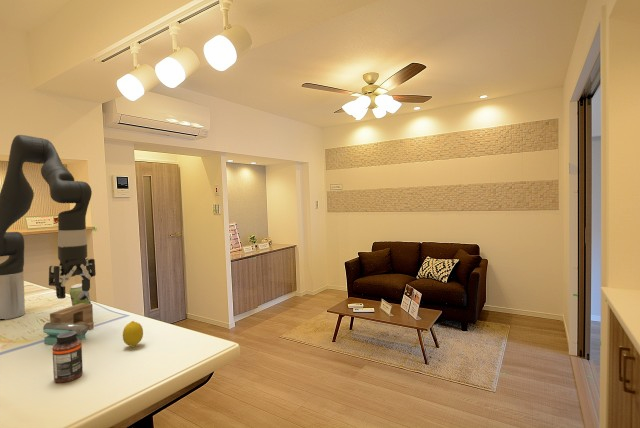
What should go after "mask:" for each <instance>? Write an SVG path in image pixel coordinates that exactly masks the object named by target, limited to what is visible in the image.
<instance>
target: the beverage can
mask: <svg viewBox="0 0 640 428" xmlns="http://www.w3.org/2000/svg"><path fill="white" fill-rule="evenodd" d="M69 296H70V300H71V306H74V305H77V304H80V303H87V304H92V302H91V298H90V297H91V296H90V290H89V291H82V282H81V283H80V282H79V283H76V284H72V285H71V286H70V288H69Z"/></svg>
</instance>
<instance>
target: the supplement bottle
mask: <svg viewBox="0 0 640 428" xmlns="http://www.w3.org/2000/svg"><path fill="white" fill-rule="evenodd" d="M76 337H77V336H76V332H75V331H69V332H64V333H61V334H59V335H57V343H56V344H55V345H53V346H52V366H53V368H52V369H53V381H55V382H56V383H68V382H72V381H73V380H76V379H78V378H80V376H82V374H83V371H84V370H83V349H82V346H83V345H82V340H79V339H77V338H76Z"/></svg>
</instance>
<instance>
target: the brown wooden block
mask: <svg viewBox="0 0 640 428" xmlns="http://www.w3.org/2000/svg"><path fill="white" fill-rule="evenodd" d="M93 310H94V309H93V303H91V304H87V303H80V304H77V305H74V306H72V305H71V306H68V307H66V308H62V309H59V310H55V311H54V312H50V313H49V322H53V323H71V324H84V325H87V326H88V331H93V330H94V329H95V325H94V316H93V315H94V313H93Z"/></svg>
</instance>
